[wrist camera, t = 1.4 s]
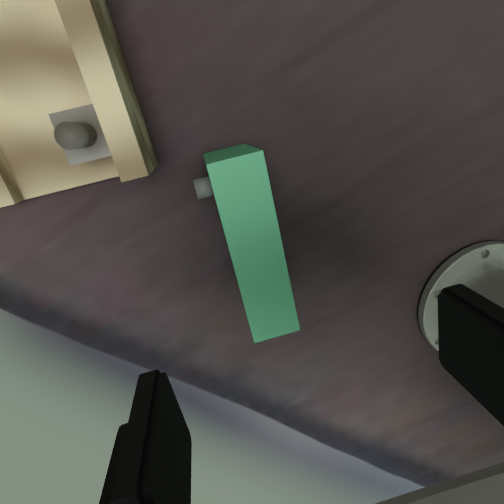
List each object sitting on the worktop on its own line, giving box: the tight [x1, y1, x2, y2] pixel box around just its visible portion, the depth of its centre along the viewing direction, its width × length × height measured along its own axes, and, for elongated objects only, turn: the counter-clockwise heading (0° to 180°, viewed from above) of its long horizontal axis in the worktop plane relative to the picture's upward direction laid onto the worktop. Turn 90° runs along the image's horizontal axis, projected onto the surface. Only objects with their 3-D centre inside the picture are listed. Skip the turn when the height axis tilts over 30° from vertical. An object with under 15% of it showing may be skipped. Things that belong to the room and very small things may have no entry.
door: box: [193, 144, 300, 343], centre depth 25 cm, size 12×4×8 cm, turn 13°
